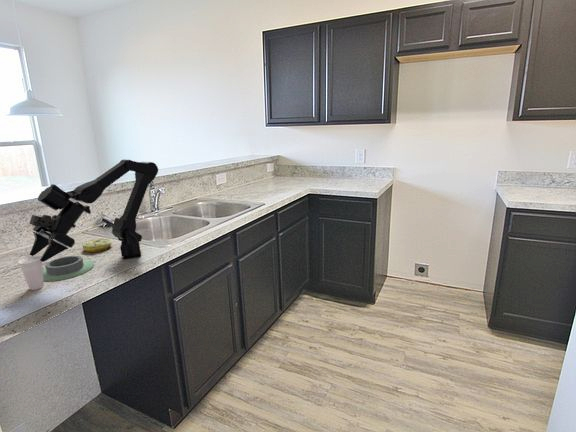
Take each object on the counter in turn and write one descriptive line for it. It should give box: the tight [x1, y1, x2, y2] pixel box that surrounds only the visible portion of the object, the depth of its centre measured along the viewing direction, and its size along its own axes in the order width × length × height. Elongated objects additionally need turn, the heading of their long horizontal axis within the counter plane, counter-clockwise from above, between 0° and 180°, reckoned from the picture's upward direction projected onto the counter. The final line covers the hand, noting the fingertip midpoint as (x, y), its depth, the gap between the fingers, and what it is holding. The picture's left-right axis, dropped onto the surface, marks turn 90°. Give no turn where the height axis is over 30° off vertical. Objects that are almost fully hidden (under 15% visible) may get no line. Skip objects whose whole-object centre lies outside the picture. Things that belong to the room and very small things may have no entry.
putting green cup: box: [43, 255, 95, 282], centre depth 122 cm, size 18×18×3 cm
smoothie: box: [17, 246, 45, 291], centre depth 108 cm, size 6×6×14 cm
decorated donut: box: [82, 237, 113, 253], centre depth 144 cm, size 10×11×4 cm
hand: (36, 258), depth 108 cm, fingers open, 9 cm apart
